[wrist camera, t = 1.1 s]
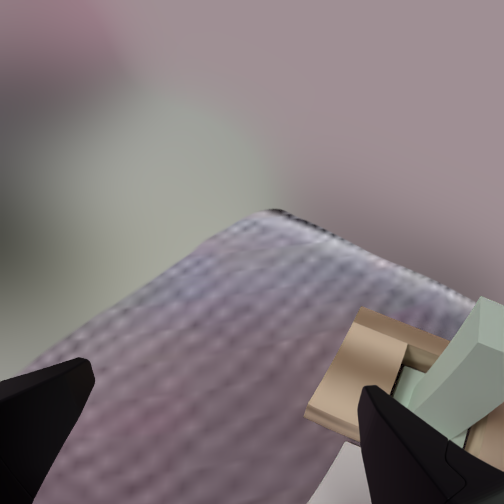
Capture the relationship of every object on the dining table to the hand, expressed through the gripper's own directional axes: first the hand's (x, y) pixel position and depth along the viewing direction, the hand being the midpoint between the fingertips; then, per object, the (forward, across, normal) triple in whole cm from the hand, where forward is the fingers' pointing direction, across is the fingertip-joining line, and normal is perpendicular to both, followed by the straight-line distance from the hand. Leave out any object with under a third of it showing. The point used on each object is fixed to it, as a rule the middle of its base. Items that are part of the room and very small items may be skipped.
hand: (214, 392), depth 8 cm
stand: (+10, -15, +12) cm, 21 cm away
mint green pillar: (+10, -15, +12) cm, 21 cm away
